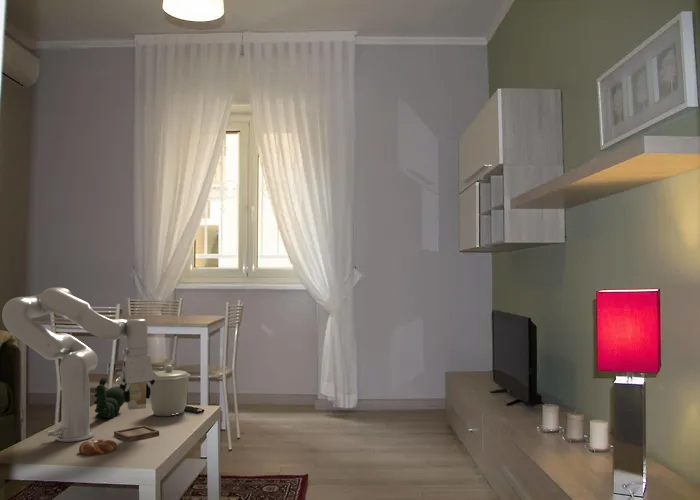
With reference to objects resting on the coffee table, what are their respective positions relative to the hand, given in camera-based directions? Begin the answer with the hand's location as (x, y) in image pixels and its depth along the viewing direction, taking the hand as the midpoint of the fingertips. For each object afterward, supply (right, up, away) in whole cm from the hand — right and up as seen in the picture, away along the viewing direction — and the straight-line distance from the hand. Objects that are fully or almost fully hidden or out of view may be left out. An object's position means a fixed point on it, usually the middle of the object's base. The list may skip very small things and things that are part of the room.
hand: (137, 399), depth 217 cm
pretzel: (-6, -13, -20) cm, 24 cm away
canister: (+1, -15, +34) cm, 37 cm away
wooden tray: (0, -13, -1) cm, 13 cm away
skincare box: (0, -3, 0) cm, 3 cm away
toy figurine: (-23, -15, +32) cm, 42 cm away
